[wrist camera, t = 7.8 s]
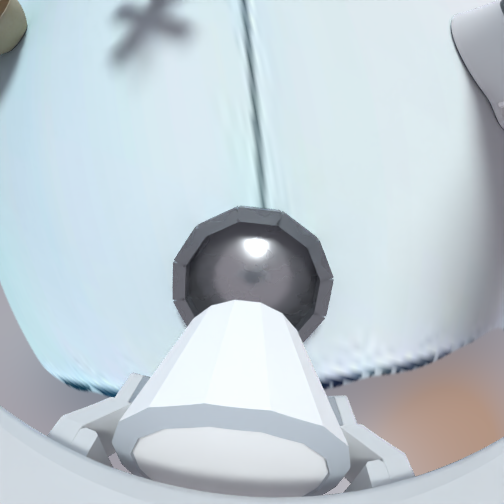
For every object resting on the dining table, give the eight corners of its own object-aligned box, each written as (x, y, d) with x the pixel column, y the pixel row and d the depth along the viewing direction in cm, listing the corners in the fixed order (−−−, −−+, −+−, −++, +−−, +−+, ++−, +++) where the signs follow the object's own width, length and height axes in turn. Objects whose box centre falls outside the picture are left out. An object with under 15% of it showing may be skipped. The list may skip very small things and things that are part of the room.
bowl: (336, 217, 20) (343, 219, 19) (311, 351, 23) (314, 362, 21) (183, 200, 21) (176, 201, 19) (179, 336, 23) (173, 346, 21)
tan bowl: (41, -1, 14) (15, -17, 7) (37, 34, 16) (5, 18, 9) (-1, 40, 15) (-28, 30, 8) (-7, 80, 17) (-39, 72, 10)
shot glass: (186, 265, 11) (104, 361, 4) (337, 310, 12) (402, 425, 5) (162, 381, 13) (116, 484, 6) (283, 413, 13) (292, 521, 6)
